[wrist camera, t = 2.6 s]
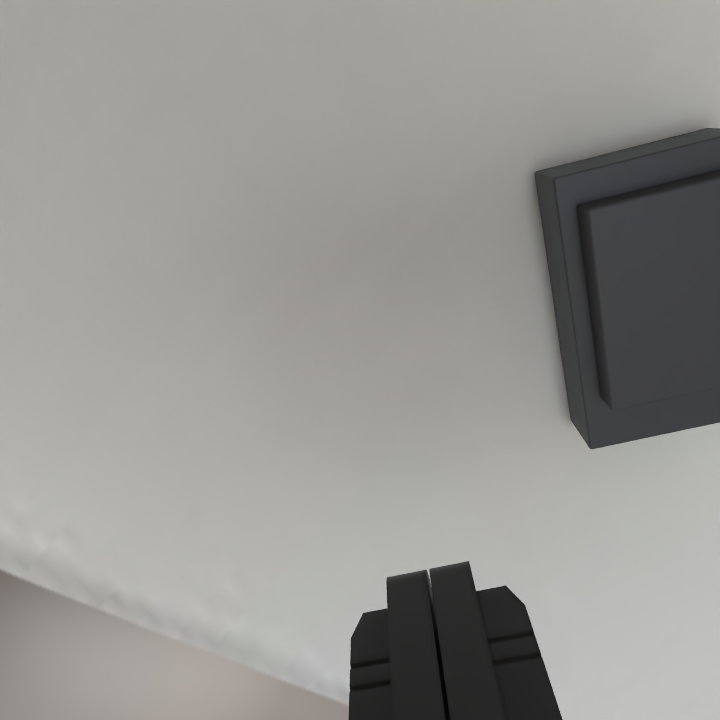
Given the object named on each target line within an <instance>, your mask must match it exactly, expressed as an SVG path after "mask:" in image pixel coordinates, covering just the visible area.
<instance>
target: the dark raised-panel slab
mask: <svg viewBox="0 0 720 720" xmlns="http://www.w3.org/2000/svg"><path fill="white" fill-rule="evenodd" d="M535 178H536V185H537V192H538V199H539V206H540V212H541V219H542V226H543V233H544V240H545V246H546V253H547V260H548V267H549V274H550V281H551V287H552V294H553V301H554V308H555V315H556V322H557V328H558V335H559V342H560V349H561V356H562V362H563V369H564V376H565V383H566V390H567V397H568V403H569V410H570V417H571V421H572V423H573V424H574V426H575V427H576V429H577V430H578V431H579V433H580V434H581V436H582V437H583V439H584V440H585V442H586V443H587V445H588V446H589V448H590V449H595V448H600V447H604V446H609V445H614V444H619V443H623V442H628V441H633V440H638V439H642V438H647V437H652V436H657V435H661V434H666V433H671V432H676V431H680V430H685V429H690V428H695V427H699V426H704V425H709V424H714V423H718V422H720V129H716V128H707V129H703V130H699V131H695V132H691V133H687V134H683V135H679V136H675V137H671V138H667V139H663V140H659V141H655V142H652V143H648V144H644V145H640V146H636V147H632V148H628V149H624V150H620V151H616V152H612V153H608V154H604V155H600V156H596V157H592V158H588V159H584V160H580V161H576V162H573V163H569V164H565V165H561V166H557V167H553V168H549V169H545V170H541V171H537V172H536V173H535Z"/></svg>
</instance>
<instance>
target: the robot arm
mask: <svg viewBox="0 0 720 720" xmlns="http://www.w3.org/2000/svg"><path fill="white" fill-rule="evenodd" d="M430 579H431V583H430ZM430 579H429V576H428V572H427V570H422V571H417V572H412V573H407V574H402V575H397V576H392V577H387V606H388V609H382V610H377V611H372V612H367V613H363V615H362V617H361V619H360V621H359V623H358V625H357V627H356V629H355V631H354V633H353V635H352V637H351V659H350V665H351V670H350V694H349V720H562V717H561V714H560V711H559V708H558V705H557V702H556V699H555V696H554V692H553V689H552V686H551V683H550V680H549V677H548V674H547V671H546V668H545V665H544V662H543V659H542V657H541V653H540V650H539V647H538V644H537V640H536V637H535V635H534V632H533V628H532V625H531V622H530V619H529V616H528V613H527V610H526V607H525V605H524V604H523V603H522V602H521V601H520V600H519V599H518V598H517V597H516V596H515V595H514V594H513V593H512V591H511V590H510V589H509V588H508V587H507V586H502V587H496V588H491V589H486V590H481V591H476V589H475V585H474V581H473V577H472V572H471V568H470V564H469V561H467V562H462V563H457V564H452V565H447V566H442V567H437V568H432V569H430ZM431 586H432V587H431Z"/></svg>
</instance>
